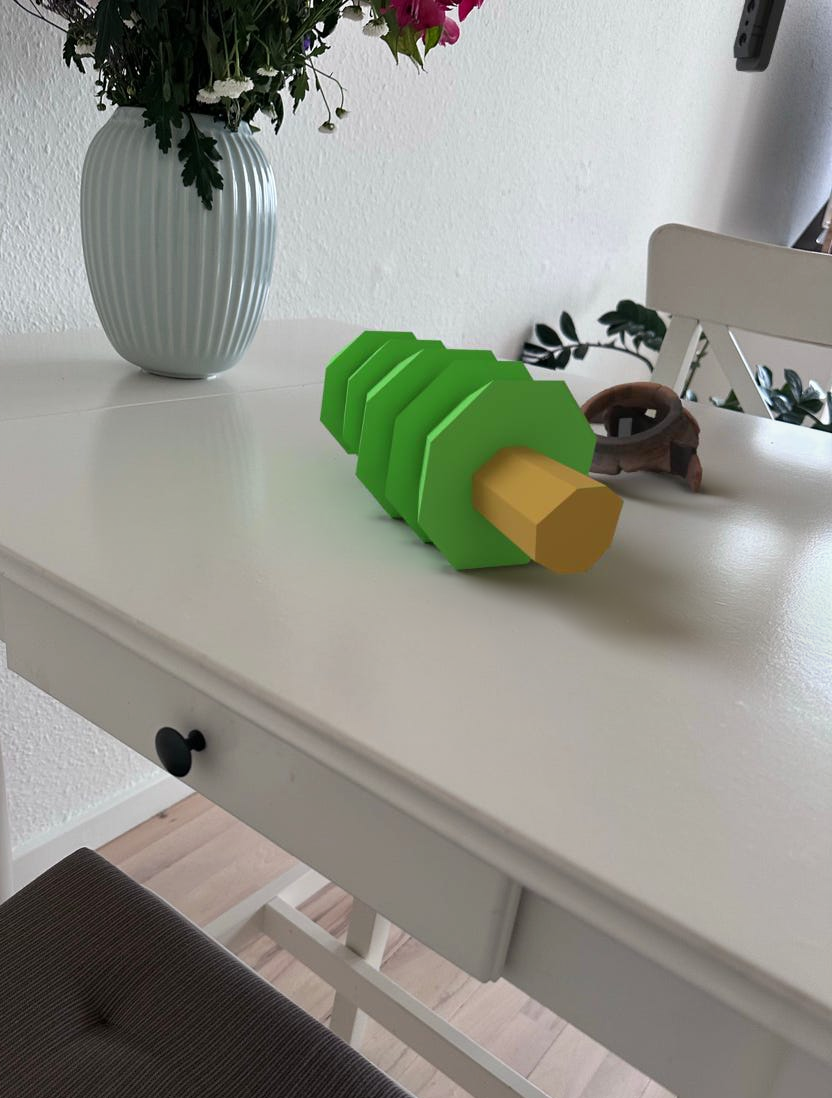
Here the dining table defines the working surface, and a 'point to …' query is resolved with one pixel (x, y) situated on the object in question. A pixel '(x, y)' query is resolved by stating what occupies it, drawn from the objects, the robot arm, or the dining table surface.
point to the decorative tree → (471, 452)
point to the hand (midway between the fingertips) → (808, 81)
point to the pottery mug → (645, 432)
